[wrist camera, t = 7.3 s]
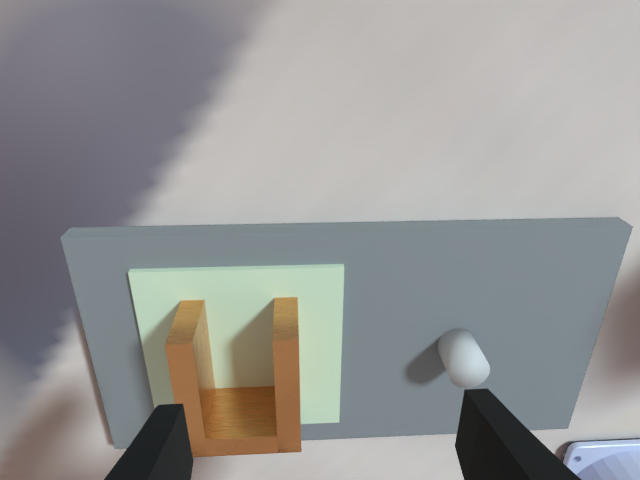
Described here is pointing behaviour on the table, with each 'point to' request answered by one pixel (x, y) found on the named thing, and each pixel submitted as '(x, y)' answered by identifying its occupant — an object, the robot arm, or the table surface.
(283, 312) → the c link
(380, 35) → the table surface
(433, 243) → the peg board
